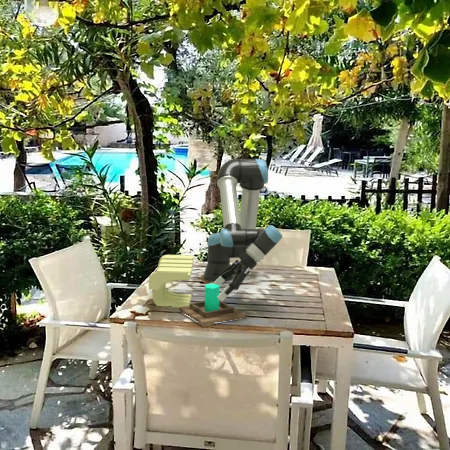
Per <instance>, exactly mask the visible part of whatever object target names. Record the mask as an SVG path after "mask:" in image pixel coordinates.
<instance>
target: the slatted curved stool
mask: <svg viewBox="0 0 450 450" xmlns="http://www.w3.org/2000/svg"><path fill="white" fill-rule="evenodd" d="M194 259H195V258H194V255H193V254H191V255H186V254H185V255H184V254H183V255H182V254H165V255H162V256H161V257H160V258H159V260H158V264H157V269H156V271H154V272H152V273H151V274H150V276H149V277H148V290H152V292H151V293H152V301H153V303H154V304H155V306H157V307H159V306H172V307H171V308H179V307H183V306H189V305H190V304H191V303H192V299H191V298H192V296H193V295H192V294H186V293H185V294H184V293H175V292H172V291H169V290H168V289H167V286H166V285H167V283H171V282H176V281H190V279H191V276H192V273H193V266H194Z"/></svg>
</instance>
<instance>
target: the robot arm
mask: <svg viewBox="0 0 450 450" xmlns="http://www.w3.org/2000/svg"><path fill="white" fill-rule="evenodd" d="M268 169H269V168H268V165H267V162H266V161H265V159H258V158H231V159H229V160H227V161H226V162H224V163H222V166H220V168H219V169H218V172H217V175H216V185H217V188H218V189H219V193H220V195H219V196H220V204H221V214H222V220H223V228H222V229H220V232H216V233H215V232H214V233H212V234H210V235H209V236H208V239H207V264H206V266H205V269H204V273H203V278H204V279H205V278H206V279H205V280H207V281H210V282H211V281H212V282H213V284H216V285H219V286H221V285H222V284H223V283H224V282H228V281H231V282H230V283H228V284H227V286H226V287H225V288H224V289H223V290H222V291H221V292H220V294H219V295H218V296H217V297H218V298H219V300H221V301H223V302H224V301H225V299H227V297H229V295H230V294H231V293H232V292H233V291H237V290H239V288H240V287H241V286H242V284H243V282H244V280H245V278H246V277H247V276H248V275H249V273H250V270H253V269H255V267H256V266H257V265H258V263H259V262H261V261H262V260H264V259H265V258H264V257H266V255H267V254H269V253H270V252H271V250H273V249H274V248H275V246H276V245H277V244H279V242H280V241H281V240H282V239H283V234H282V233H281V232H280V231H279V229H277V228H276V227H275V226H274V225H271V224H270V225H268V226H267V227H266V228H257V222H258V221H257V220H258V210H259V202H260V201H259V200H260V192H261V191H262V189H264V185H266V184H268V181H269V171H268ZM238 184H239V187H240V188H241V189H242V191H241V199H240V208H239V201H238V200H239V199H238V191H237V186H238ZM231 259H236V260H235V261H233V263H231ZM238 259H240V260H238ZM249 269H250V270H249Z"/></svg>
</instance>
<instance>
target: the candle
mask: <svg viewBox="0 0 450 450" xmlns="http://www.w3.org/2000/svg"><path fill="white" fill-rule="evenodd" d="M213 283H214V281H212V282H210V283H206V284H205V285H204V301H205V311H206V312H210V311H215V310H219V300H220V299H219V298H218V297H217V296H218V295H219V294H220V293H221V292H220V291H221V290H220V289H221V287H220V286H221V285H220V286H219V285H216V284H213Z"/></svg>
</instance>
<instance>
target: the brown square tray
mask: <svg viewBox="0 0 450 450" xmlns="http://www.w3.org/2000/svg"><path fill="white" fill-rule="evenodd" d="M179 311H180V312H182V313H184V314H186V315H188V316H190V317H191V318H193V319H195V320H196V321H198V322H199V323H201V326H200V327H201V328H207V327H208V326H207V325H208V324H211V323H215V322H223V321H230V320H235V319H240V318H244V319H246V313H245V312H243V311H242V310H240V309H238V308H236V307H233V306H232V305H230V304H228V303H226V302H224V300H223V301H221V300H220V299H219V310H215V311H210V312H206V311H205V300H204V301H203V300H202V301H197V302H190V305H189V306H183V307H178V312H179ZM180 312H179V313H180ZM240 320H241V319H240ZM235 321H236V320H235ZM230 322H231V321H230ZM206 326H207V327H206Z"/></svg>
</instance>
